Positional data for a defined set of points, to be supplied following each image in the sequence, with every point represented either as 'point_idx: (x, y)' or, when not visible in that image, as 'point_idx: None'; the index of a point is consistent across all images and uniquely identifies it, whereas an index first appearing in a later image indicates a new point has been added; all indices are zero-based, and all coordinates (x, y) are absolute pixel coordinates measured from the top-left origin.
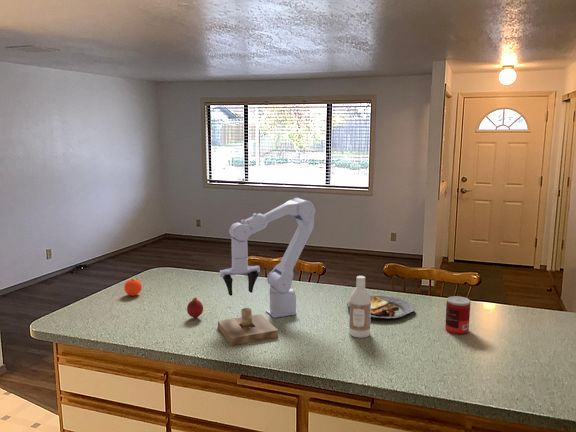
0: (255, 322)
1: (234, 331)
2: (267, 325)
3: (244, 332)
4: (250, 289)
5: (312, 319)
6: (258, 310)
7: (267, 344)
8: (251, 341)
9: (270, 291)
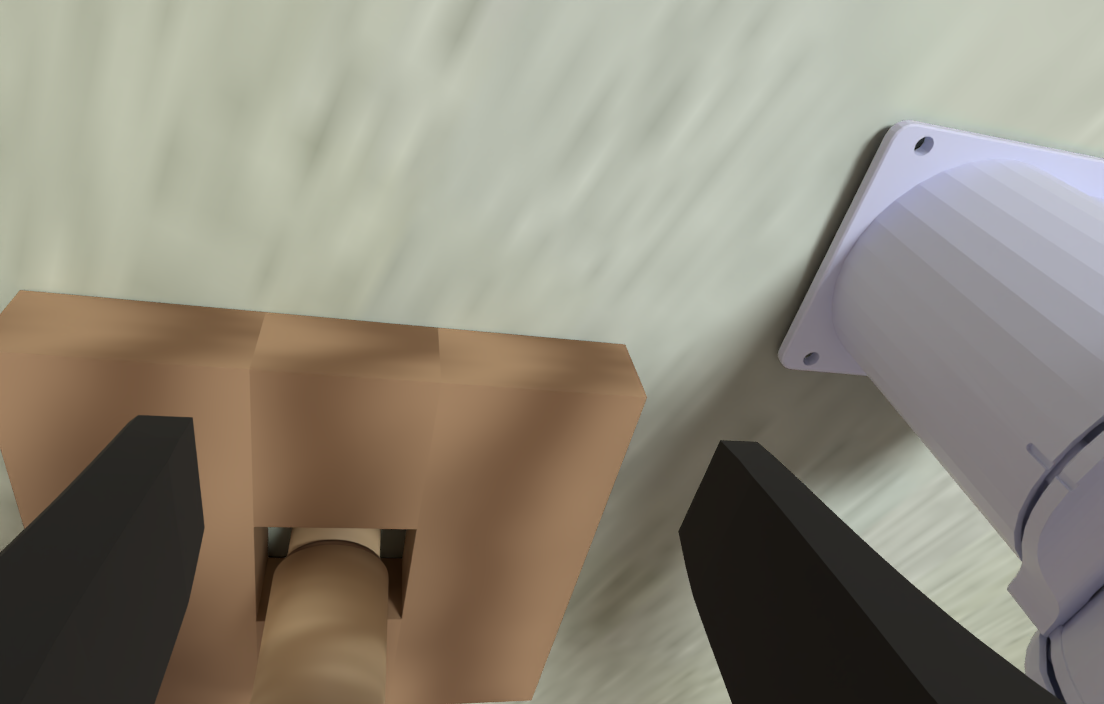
0: (451, 550)
1: None
2: (512, 627)
3: (241, 673)
4: (705, 589)
5: (971, 504)
6: (858, 7)
7: None
8: None
9: (1056, 477)
